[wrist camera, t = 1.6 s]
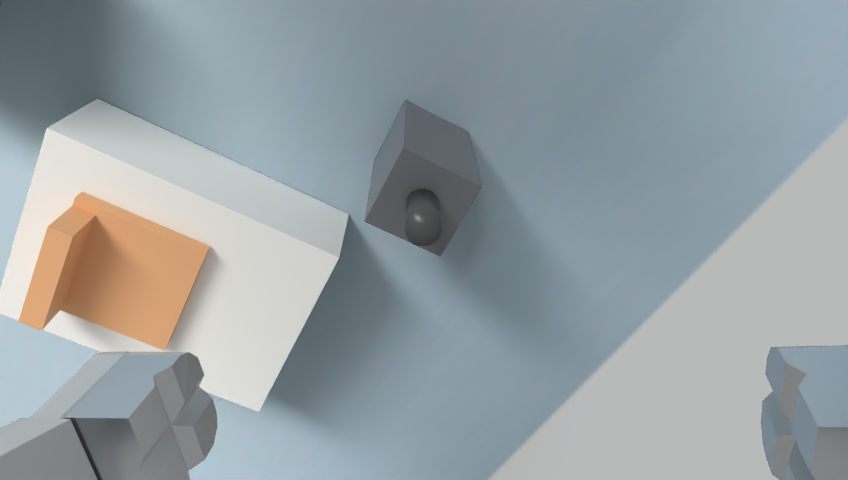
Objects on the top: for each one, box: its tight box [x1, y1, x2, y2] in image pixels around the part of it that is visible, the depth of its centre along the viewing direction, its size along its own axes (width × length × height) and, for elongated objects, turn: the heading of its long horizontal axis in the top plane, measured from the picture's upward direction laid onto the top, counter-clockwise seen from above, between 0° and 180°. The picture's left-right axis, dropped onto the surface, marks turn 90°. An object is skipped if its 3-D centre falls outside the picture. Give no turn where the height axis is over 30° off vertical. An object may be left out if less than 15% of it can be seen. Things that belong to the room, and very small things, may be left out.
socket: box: [0, 99, 349, 412], centre depth 40 cm, size 16×12×6 cm
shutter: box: [18, 192, 210, 351], centre depth 36 cm, size 7×7×3 cm
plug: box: [365, 100, 482, 256], centre depth 35 cm, size 4×4×12 cm
